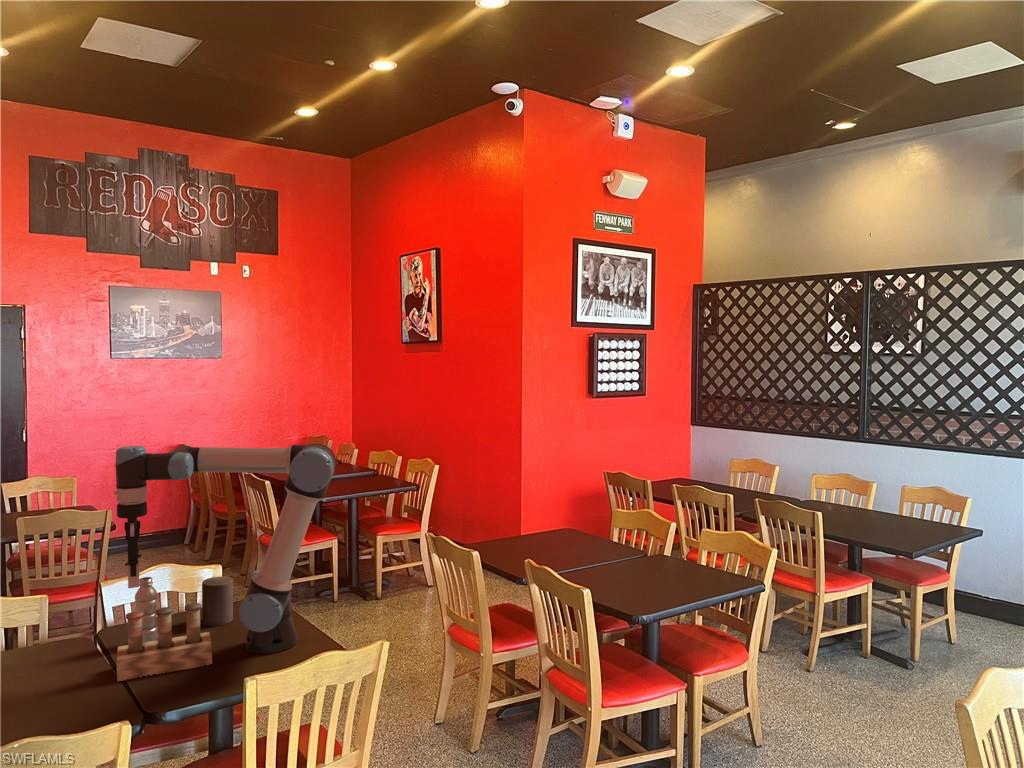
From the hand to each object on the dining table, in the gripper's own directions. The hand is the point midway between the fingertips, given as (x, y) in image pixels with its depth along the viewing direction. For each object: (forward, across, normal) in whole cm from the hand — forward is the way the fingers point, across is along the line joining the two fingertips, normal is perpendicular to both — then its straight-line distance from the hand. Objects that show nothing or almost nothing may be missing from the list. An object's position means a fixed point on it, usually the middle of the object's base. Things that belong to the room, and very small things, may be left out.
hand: (133, 584), depth 203 cm
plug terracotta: (+19, 0, 0) cm, 19 cm away
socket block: (+25, 0, +8) cm, 26 cm away
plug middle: (+19, 0, +8) cm, 21 cm away
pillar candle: (+25, -30, +24) cm, 46 cm away
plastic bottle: (+25, -21, +3) cm, 33 cm away
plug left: (+19, 0, +15) cm, 24 cm away
